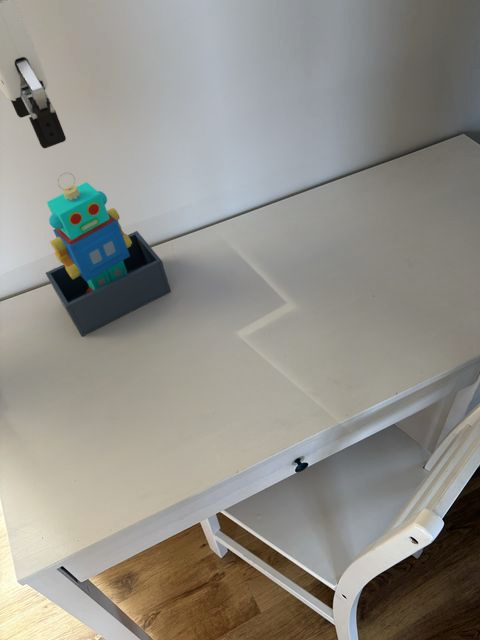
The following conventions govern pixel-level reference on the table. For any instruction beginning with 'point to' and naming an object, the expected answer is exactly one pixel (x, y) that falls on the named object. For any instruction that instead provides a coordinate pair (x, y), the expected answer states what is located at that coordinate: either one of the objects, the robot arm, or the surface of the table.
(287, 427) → the table surface
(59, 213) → the toy robot
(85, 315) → the tote
